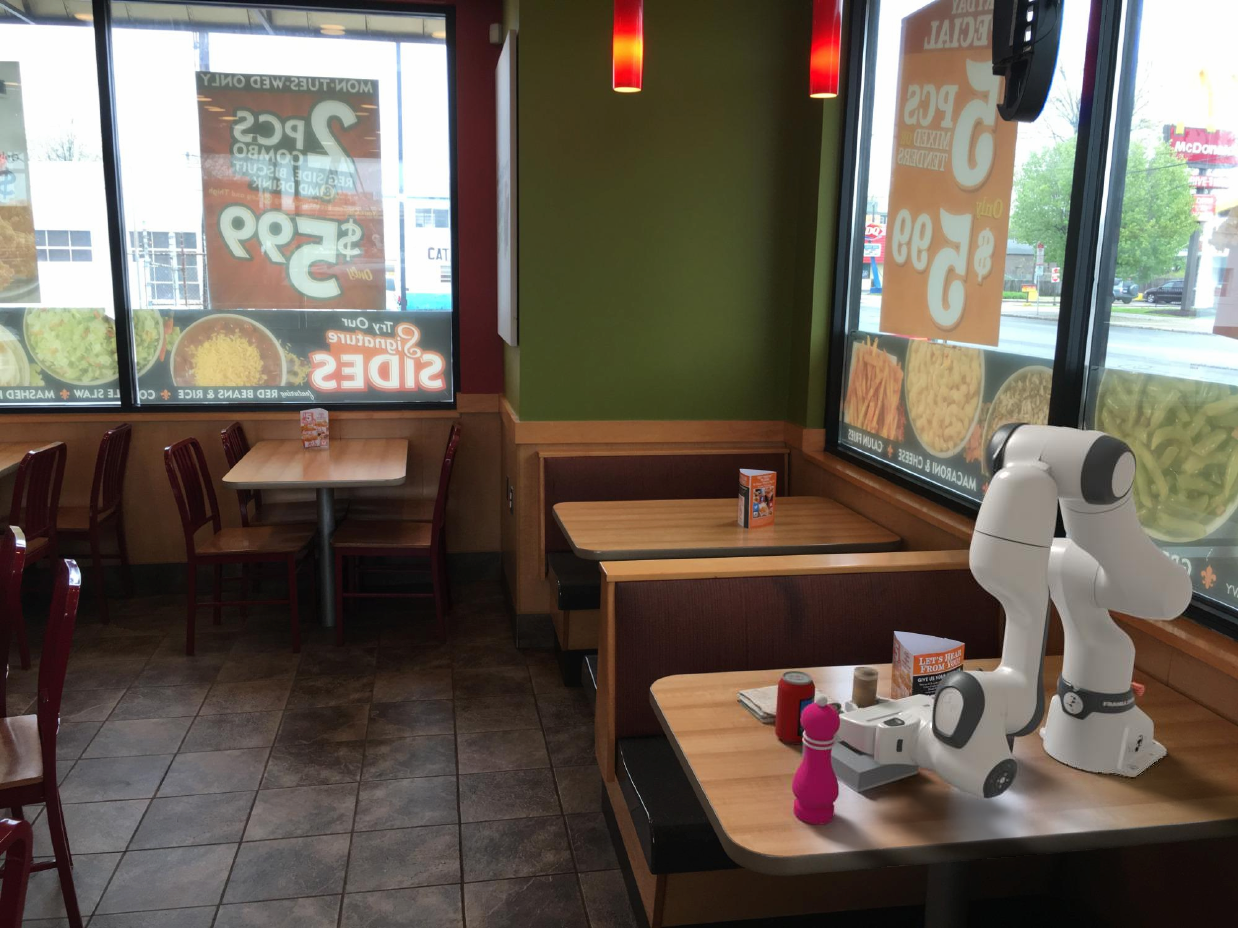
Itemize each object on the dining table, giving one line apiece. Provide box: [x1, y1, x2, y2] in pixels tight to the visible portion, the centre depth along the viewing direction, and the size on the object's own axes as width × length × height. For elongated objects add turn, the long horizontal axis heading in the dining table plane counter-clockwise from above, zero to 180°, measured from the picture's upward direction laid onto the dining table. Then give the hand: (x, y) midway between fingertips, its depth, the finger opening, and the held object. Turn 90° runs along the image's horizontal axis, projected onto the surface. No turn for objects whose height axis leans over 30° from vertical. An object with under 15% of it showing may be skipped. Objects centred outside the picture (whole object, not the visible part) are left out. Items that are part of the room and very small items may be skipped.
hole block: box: [801, 732, 920, 793], centre depth 167 cm, size 14×14×4 cm
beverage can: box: [774, 670, 816, 745], centre depth 175 cm, size 7×7×12 cm
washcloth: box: [736, 684, 843, 724], centre depth 189 cm, size 12×18×3 cm, turn 113°
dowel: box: [848, 666, 879, 753], centre depth 165 cm, size 4×4×14 cm
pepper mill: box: [791, 695, 840, 825], centre depth 149 cm, size 7×7×20 cm
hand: (859, 701), depth 166 cm, fingers closed on dowel, 4 cm apart
